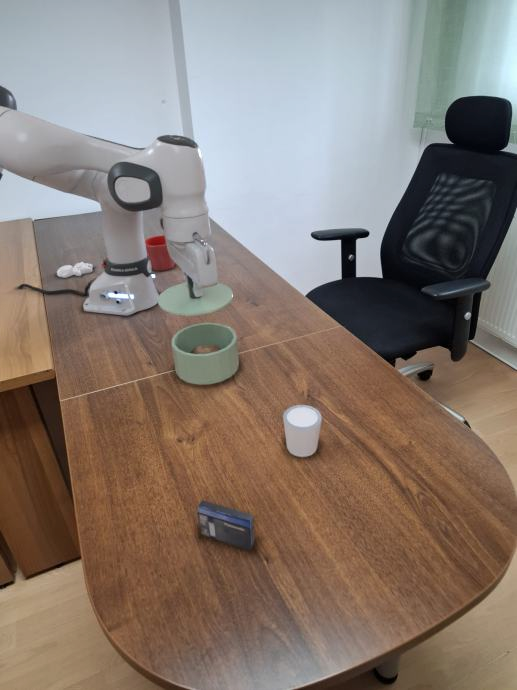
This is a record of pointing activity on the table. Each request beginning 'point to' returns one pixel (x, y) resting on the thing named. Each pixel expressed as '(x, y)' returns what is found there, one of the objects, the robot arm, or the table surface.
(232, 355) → the pot
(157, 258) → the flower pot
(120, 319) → the table surface
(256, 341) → the table surface
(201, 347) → the mushroom
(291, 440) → the white cup
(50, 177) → the robot arm
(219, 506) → the mini dv tape
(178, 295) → the lid
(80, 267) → the astronaut figurine
